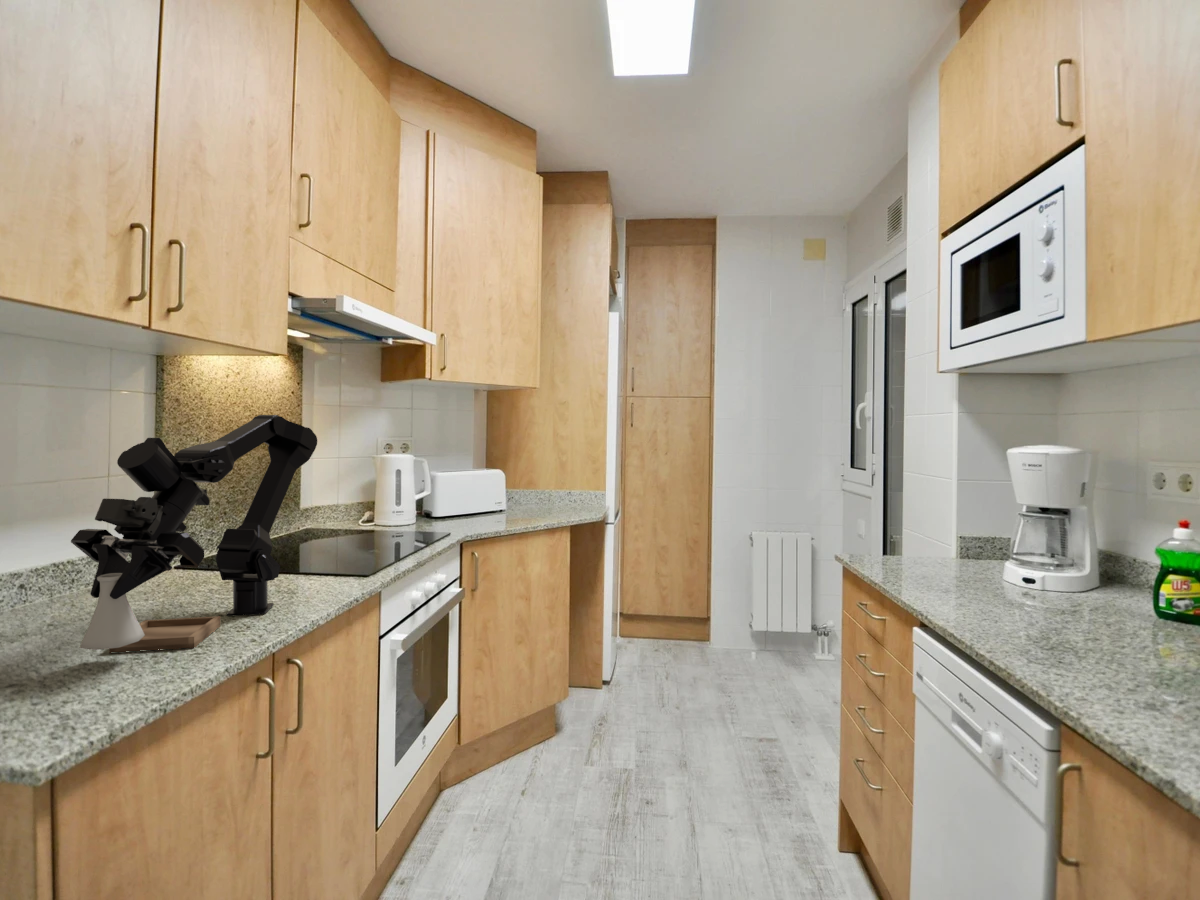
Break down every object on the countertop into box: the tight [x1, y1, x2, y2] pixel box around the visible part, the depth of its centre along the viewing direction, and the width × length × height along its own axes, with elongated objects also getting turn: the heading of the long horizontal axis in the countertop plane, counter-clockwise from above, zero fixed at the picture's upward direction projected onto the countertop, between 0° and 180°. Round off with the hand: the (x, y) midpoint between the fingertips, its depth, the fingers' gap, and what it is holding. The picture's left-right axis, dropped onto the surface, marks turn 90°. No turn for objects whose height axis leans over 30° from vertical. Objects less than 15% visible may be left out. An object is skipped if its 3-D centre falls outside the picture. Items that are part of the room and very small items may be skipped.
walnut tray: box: [108, 615, 222, 654], centre depth 103 cm, size 12×12×2 cm
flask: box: [78, 573, 145, 651], centre depth 92 cm, size 7×7×10 cm
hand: (102, 597), depth 90 cm, fingers closed on flask, 3 cm apart
